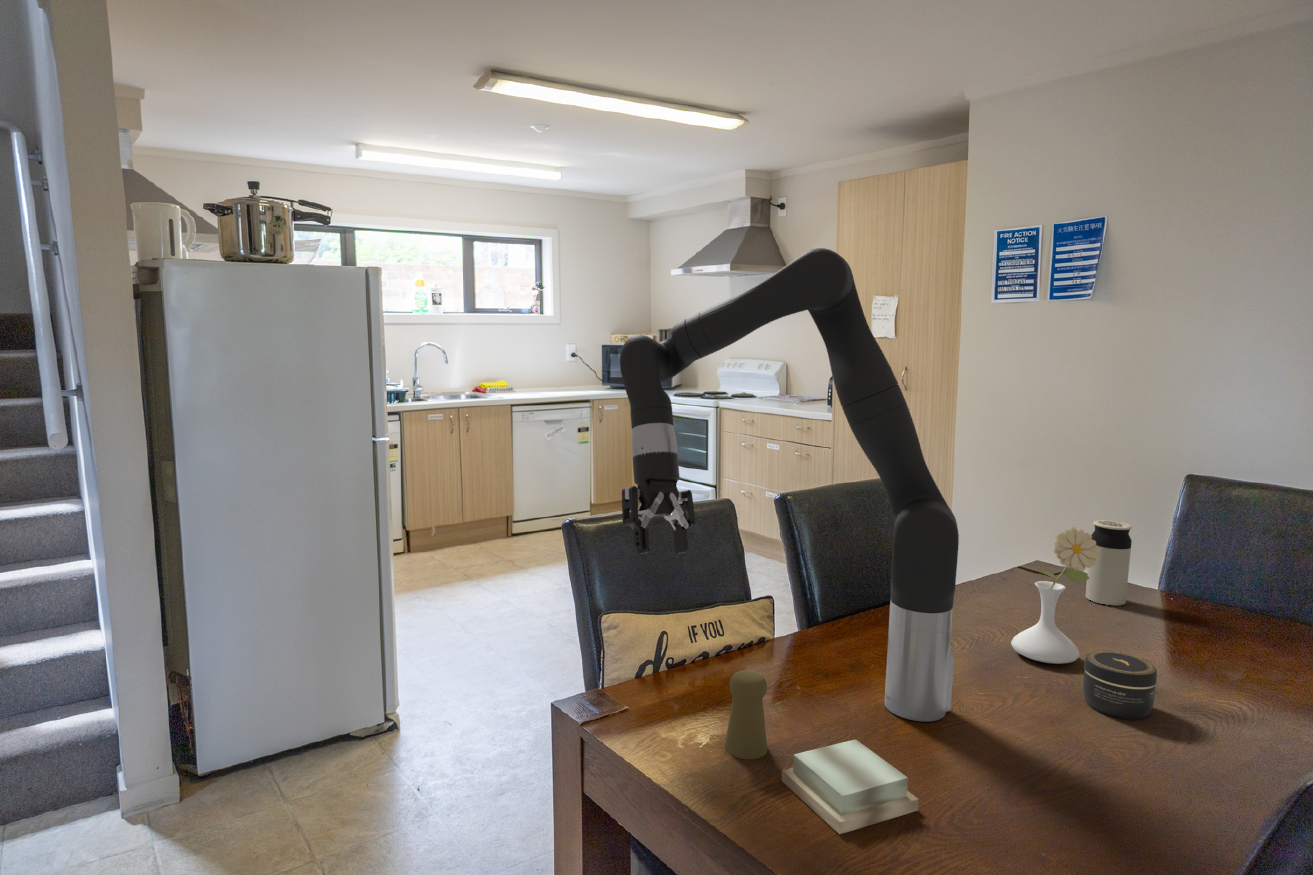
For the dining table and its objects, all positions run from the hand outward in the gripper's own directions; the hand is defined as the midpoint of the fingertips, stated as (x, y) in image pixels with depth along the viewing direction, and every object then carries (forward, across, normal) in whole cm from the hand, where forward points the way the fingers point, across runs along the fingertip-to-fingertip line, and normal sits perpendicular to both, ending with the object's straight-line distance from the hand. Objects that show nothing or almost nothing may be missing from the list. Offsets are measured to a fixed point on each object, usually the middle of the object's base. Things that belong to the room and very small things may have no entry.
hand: (662, 553), depth 124 cm
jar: (+30, +55, -45) cm, 77 cm away
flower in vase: (+24, +67, -32) cm, 78 cm away
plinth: (+34, +1, -28) cm, 44 cm away
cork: (+29, +1, -13) cm, 32 cm away
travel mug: (+15, +111, -30) cm, 116 cm away
